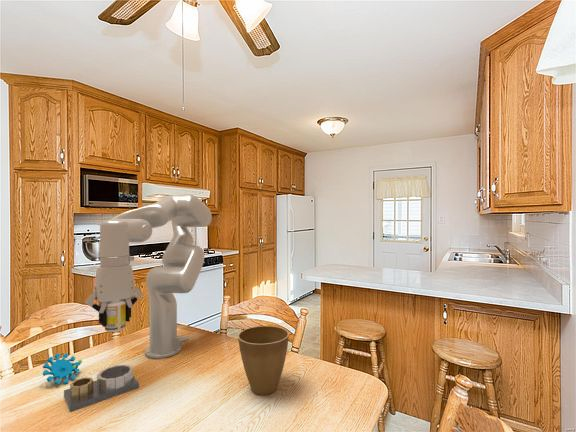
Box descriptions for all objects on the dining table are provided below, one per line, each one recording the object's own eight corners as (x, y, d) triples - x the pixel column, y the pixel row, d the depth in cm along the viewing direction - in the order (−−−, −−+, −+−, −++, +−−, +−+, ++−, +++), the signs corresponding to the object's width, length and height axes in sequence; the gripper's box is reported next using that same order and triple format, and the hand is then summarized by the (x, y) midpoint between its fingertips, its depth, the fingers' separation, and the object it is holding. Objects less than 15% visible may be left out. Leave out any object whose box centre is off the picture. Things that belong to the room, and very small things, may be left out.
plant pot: (295, 379, 99) (295, 328, 99) (278, 407, 85) (278, 347, 85) (251, 372, 104) (251, 322, 104) (228, 396, 90) (228, 339, 90)
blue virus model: (49, 387, 92) (40, 356, 96) (39, 398, 94) (31, 367, 98) (88, 375, 102) (78, 347, 106) (79, 386, 103) (70, 358, 107)
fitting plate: (128, 375, 102) (128, 361, 102) (139, 387, 95) (138, 372, 95) (63, 395, 90) (63, 379, 90) (70, 411, 83) (69, 394, 83)
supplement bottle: (122, 324, 99) (122, 291, 99) (128, 329, 95) (128, 294, 95) (102, 329, 95) (102, 294, 95) (107, 334, 91) (107, 298, 91)
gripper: (141, 257, 103) (141, 313, 103) (78, 263, 92) (78, 326, 92) (149, 260, 98) (149, 319, 98) (83, 266, 86) (84, 333, 86)
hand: (115, 322), depth 95 cm, fingers closed on supplement bottle, 5 cm apart
